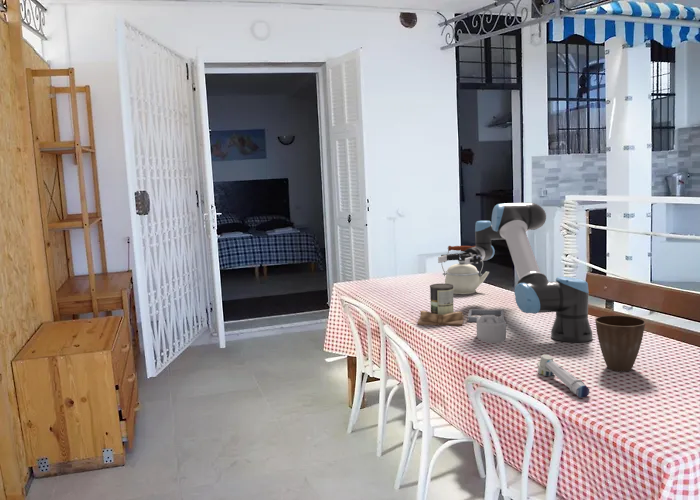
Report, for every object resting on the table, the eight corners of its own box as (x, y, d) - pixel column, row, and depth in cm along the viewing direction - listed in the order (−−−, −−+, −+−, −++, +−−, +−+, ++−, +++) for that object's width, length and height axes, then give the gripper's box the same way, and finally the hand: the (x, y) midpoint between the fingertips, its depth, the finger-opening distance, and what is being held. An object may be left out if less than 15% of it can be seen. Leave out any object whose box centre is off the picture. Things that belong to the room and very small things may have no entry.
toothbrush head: (575, 386, 180) (535, 350, 204) (573, 407, 182) (533, 369, 206) (592, 384, 181) (550, 349, 205) (590, 405, 183) (548, 367, 207)
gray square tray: (503, 322, 269) (503, 318, 268) (467, 321, 272) (467, 317, 272) (503, 314, 283) (503, 310, 283) (469, 313, 287) (469, 309, 286)
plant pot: (586, 369, 206) (587, 321, 204) (605, 358, 216) (606, 312, 214) (632, 378, 195) (634, 328, 193) (651, 367, 206) (652, 319, 203)
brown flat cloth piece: (422, 315, 286) (421, 307, 285) (464, 316, 281) (464, 307, 281) (417, 324, 270) (417, 315, 269) (462, 325, 265) (462, 316, 265)
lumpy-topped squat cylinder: (499, 333, 252) (499, 312, 251) (510, 342, 239) (510, 320, 238) (474, 335, 251) (474, 313, 250) (483, 343, 238) (483, 321, 237)
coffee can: (426, 318, 276) (426, 286, 275) (435, 313, 285) (435, 282, 283) (448, 320, 271) (448, 288, 269) (457, 315, 280) (456, 284, 278)
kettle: (440, 295, 330) (439, 248, 326) (443, 288, 347) (442, 243, 344) (489, 295, 324) (488, 248, 320) (489, 288, 341) (489, 243, 338)
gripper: (498, 264, 292) (477, 270, 276) (451, 261, 308) (428, 267, 291) (498, 248, 291) (477, 253, 275) (450, 246, 307) (428, 251, 290)
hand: (452, 260), depth 283 cm, fingers open, 13 cm apart
